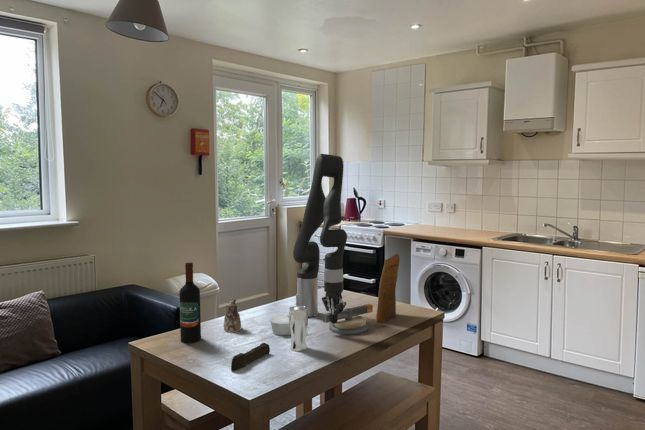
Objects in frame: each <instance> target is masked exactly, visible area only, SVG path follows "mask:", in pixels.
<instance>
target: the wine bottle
mask: <svg viewBox="0 0 645 430" xmlns="http://www.w3.org/2000/svg"><path fill="white" fill-rule="evenodd" d="M184 265H185V266H184V267H185V283H184V285H182V287H181V288H180V289H179V321H180V322H179V325H180V327H179V329H180V331H179V332H180V342H181V343H184V344H193V343H197V342H199V341H200V342H201V340H202V331H201V330H202V325H201V289H200V288H199V287H198V286H197V285H196V284H195V283H194V263H193V262H192V261H191V262H189V261H188V262H185V263H184Z"/></svg>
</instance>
